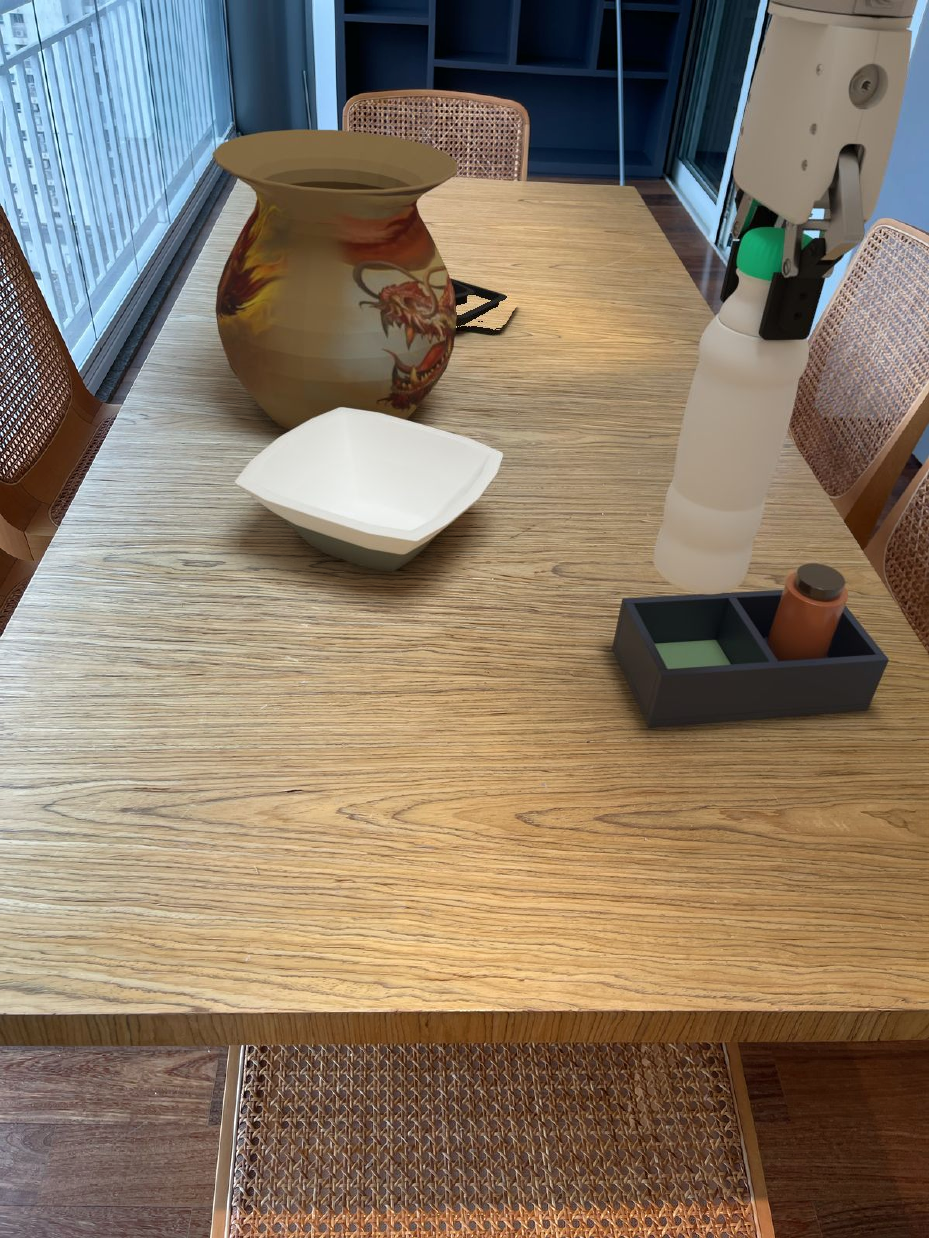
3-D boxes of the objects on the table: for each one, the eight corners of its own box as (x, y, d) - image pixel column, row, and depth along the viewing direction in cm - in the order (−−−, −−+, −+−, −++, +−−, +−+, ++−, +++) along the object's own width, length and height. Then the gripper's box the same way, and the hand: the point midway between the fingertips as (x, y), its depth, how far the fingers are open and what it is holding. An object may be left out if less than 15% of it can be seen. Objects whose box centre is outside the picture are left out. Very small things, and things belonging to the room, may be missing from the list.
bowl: (334, 465, 117) (333, 398, 111) (514, 520, 110) (522, 451, 105) (219, 555, 100) (212, 481, 95) (422, 627, 93) (426, 551, 88)
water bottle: (653, 540, 79) (723, 212, 64) (742, 554, 79) (835, 226, 64) (649, 590, 74) (725, 243, 59) (746, 605, 73) (848, 259, 58)
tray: (520, 298, 166) (523, 266, 162) (516, 352, 147) (519, 318, 144) (340, 281, 166) (340, 249, 163) (313, 333, 148) (312, 298, 144)
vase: (441, 471, 117) (458, 204, 99) (196, 448, 117) (169, 178, 99) (457, 371, 140) (474, 140, 122) (253, 353, 140) (239, 119, 122)
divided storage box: (611, 650, 93) (622, 598, 89) (813, 637, 96) (831, 586, 93) (648, 729, 84) (662, 675, 81) (867, 711, 88) (889, 659, 85)
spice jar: (802, 648, 93) (834, 557, 87) (828, 685, 89) (864, 592, 83) (750, 652, 92) (779, 560, 86) (774, 689, 88) (806, 596, 82)
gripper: (1005, 13, 48) (883, 374, 58) (832, -24, 61) (759, 275, 72) (862, 5, 46) (765, 376, 57) (717, -32, 59) (660, 275, 70)
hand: (762, 317), depth 64 cm, fingers closed on water bottle, 5 cm apart
